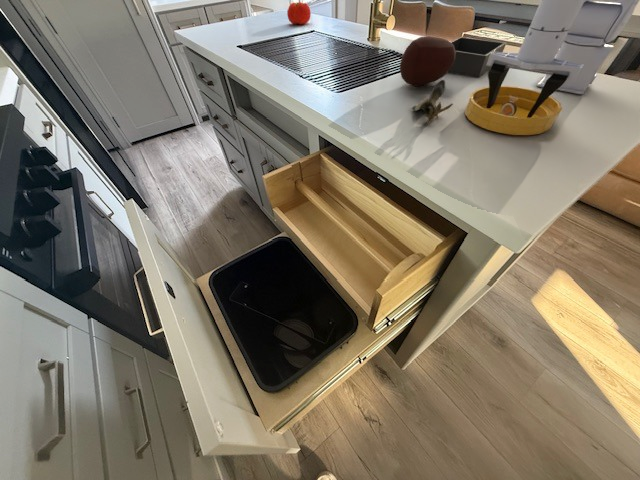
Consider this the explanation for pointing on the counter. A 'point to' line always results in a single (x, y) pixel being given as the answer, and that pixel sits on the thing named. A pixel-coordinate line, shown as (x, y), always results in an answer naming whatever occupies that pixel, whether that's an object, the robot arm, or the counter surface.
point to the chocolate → (509, 108)
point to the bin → (473, 55)
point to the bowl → (519, 120)
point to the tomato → (298, 13)
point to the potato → (426, 60)
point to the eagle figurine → (433, 102)
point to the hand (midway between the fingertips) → (509, 111)
